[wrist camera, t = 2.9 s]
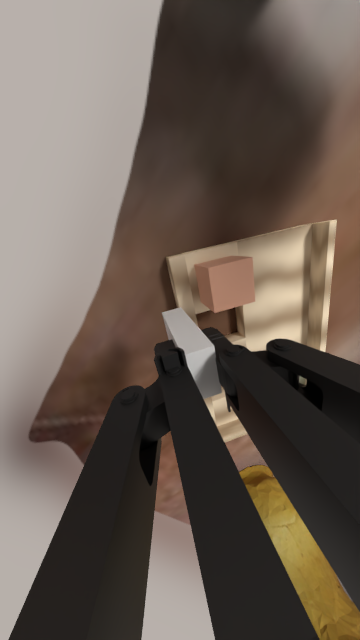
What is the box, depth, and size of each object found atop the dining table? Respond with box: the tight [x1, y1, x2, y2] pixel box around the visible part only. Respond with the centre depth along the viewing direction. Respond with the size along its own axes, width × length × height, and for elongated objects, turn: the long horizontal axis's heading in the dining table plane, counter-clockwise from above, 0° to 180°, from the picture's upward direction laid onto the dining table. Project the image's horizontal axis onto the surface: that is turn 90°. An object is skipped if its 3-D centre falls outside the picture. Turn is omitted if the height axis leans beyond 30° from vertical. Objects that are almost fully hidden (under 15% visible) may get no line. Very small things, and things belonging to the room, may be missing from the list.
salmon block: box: [194, 256, 255, 313], centre depth 23 cm, size 5×5×5 cm
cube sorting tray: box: [166, 220, 337, 443], centre depth 31 cm, size 31×21×5 cm
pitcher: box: [239, 465, 360, 640], centre depth 37 cm, size 17×19×25 cm
